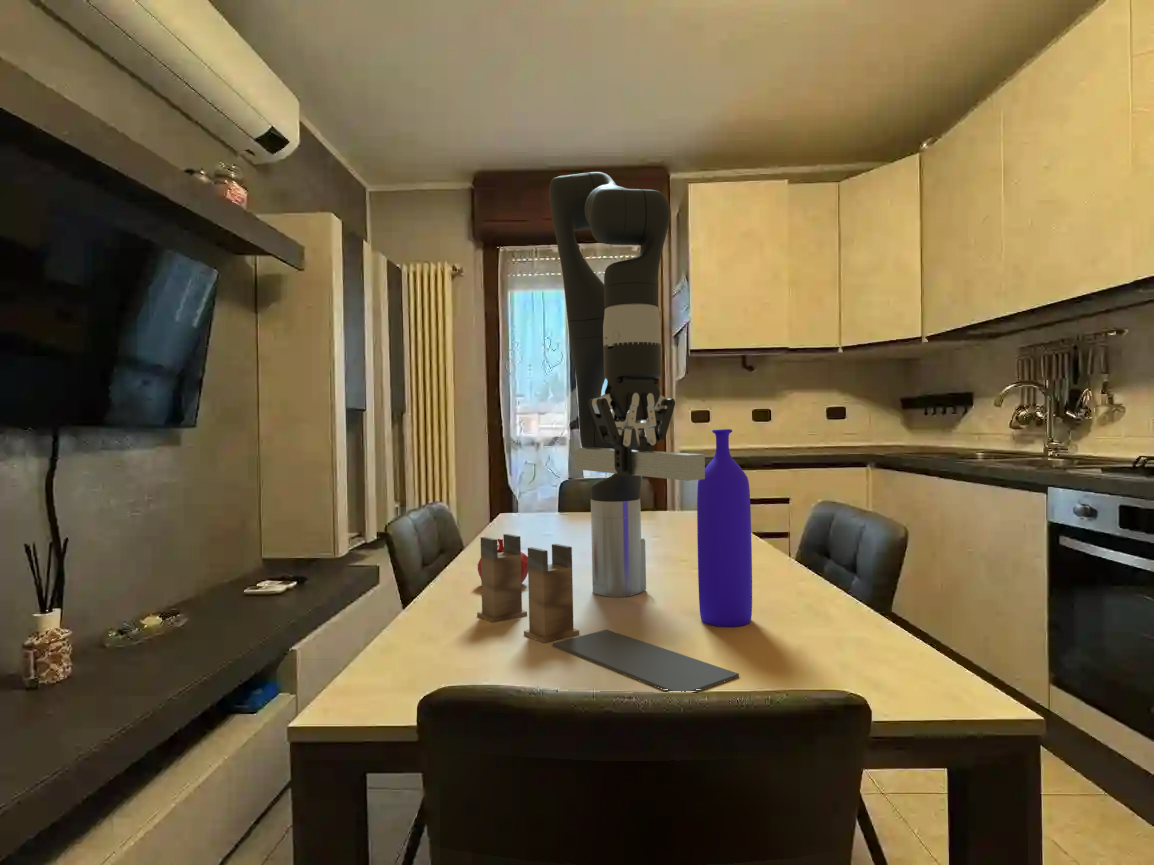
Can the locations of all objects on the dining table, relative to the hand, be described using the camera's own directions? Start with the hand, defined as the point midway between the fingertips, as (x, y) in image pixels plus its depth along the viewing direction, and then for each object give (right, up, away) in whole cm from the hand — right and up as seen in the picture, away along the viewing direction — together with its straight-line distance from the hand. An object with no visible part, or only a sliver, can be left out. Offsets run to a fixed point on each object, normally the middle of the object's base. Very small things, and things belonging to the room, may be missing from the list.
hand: (634, 474), depth 93 cm
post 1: (-20, -25, +23) cm, 39 cm away
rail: (0, 0, 0) cm, 0 cm away
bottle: (+16, -24, +18) cm, 34 cm away
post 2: (-11, -25, +12) cm, 30 cm away
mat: (+1, -25, 0) cm, 25 cm away
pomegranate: (-22, -25, +46) cm, 57 cm away
